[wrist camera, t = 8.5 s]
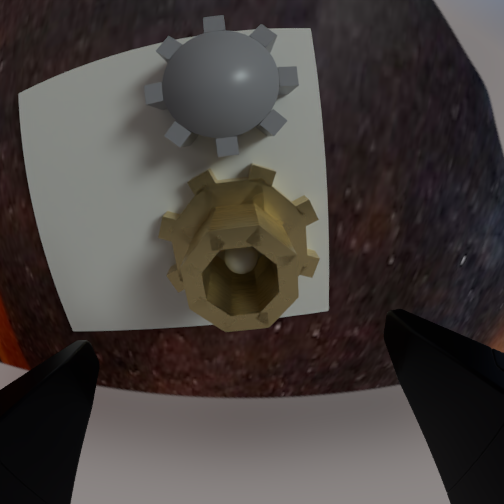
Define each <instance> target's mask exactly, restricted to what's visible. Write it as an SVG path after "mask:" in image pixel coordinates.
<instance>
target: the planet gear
mask: <svg viewBox="0 0 504 504" xmlns="http://www.w3.org/2000/svg"><path fill="white" fill-rule="evenodd" d="M275 175H276V171H275V170H274V169H270V168H267V167H264V166H260V165H257V164H253V163H252V164H251V167H250V170H249V174H248V177H240V178H231V179H223V180H217V179H216V177H215V175H214V174H213V172H212V170H211V168H209V169H207V170H206V171H204V172H202V173H200V174H199V175H197V176H195V177H194V178H192V179H190V180H189V181H188V182H187V183H188V185H189V187H190V188H191V190H192V192H193V193H194V195H195V196H194V197H193V198H192V200H191V201H190V202H189V204H188V205H187V206H186V208H185V209H184V210H183V212H182V213H181V214H177V213H173V212H170V211H167V212H166V213H165V214H164V215H163V216H162V221H161V226H160V231H159V236H158V238H160V239H164V240H168V241H171V242H172V245H173V250H174V255H175V260H176V264H175V265H173V266H171V267H170V269H169V271H168V273H167V275H166V276H167V277H168V279H169V280H170V282H171V283H172V285H173V286H174V287H175V289H176V290H177V292H178V293H179V292H181V291H183V290H184V289H185V292H186V297H187V301H188V305H189V309H190V310H192V311H193V312H195V313H196V314H198V315H199V316H201V317H203V318H204V319H206V320H207V321H209V322H210V323H212V324H214V325H215V326H217V327H218V328H220V329H222V330H223V331H225V332H231V331H241V330H250V329H260V328H268V327H270V326H271V325H272V324H273V323H274V322H275V321H276V320H277V319H278V318H279V317H280V316H281V315H282V314H283V313H284V312H285V311H286V310H287V309H288V308H289V307H290V306H291V305H292V304H293V303H294V302H295V301H296V299H297V298H298V297H299V290H298V276H299V275H302V276H306V277H310V278H312V277H313V275H314V272H315V270H316V267H317V265H318V262H319V260H320V258H319V256H318V255H317V253H316V252H315V251H314V250H311V249H307V238H306V226H308V225H310V224H311V223H313V222H315V221H317V220H319V219H318V217H317V215H316V213H315V211H314V209H313V206H312V204H311V202H310V200H309V199H308V198H307V197H306V196H305V195H304V196H302V197H300V198H298V199H296V200H294V201H291V200H290V199H288V198H287V197H286V196H285V195H283V194H282V193H281V192H280V191H279V190H277V189H276V188H275V187H274V186H272V184H273V181H274V178H275ZM251 246H253V247H254V248H255V249H257V250H258V251H259V252H261V253H262V256H261V257H260V258H259V259H258V260H257V264H256V266H255V267H254V268H253V269H252V270H251V271H250V272H248V273H245V274H237V273H234V272H233V271H231V270H230V269H229V268H228V267H227V265H226V263H225V261H223V260H222V259H221V258H219V257H218V256H217V255H216V254H217V253H218V252H219V251H220V250H224V249H233V248H242V247H251Z"/></svg>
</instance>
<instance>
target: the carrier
mask: <svg viewBox="0 0 504 504" xmlns="http://www.w3.org/2000/svg"><path fill="white" fill-rule="evenodd" d="M203 23H204V34H201V35H198V36H195V37H189V38H183V39H178V40H175V39H173V38H171V37H170V36H168V37H167V38H166V39H165V41H164V42H163V43H159V44H154V45H150V46H146V47H142V48H138V49H134V50H130V51H127V52H123V53H120V54H117V55H113V56H110V57H107V58H104V59H101V60H98V61H95V62H92V63H89V64H86V65H83V66H81V67H78V68H75V69H73V70H70V71H68V72H65V73H63V74H60V75H58V76H55V77H53V78H51V79H48V80H46V81H44V82H42V83H40V84H37V85H35V86H33V87H31V88H29V89H27V90H25V91H23V92H21V93H19V114H20V127H21V137H22V146H23V154H24V161H25V168H26V174H27V180H28V185H29V191H30V196H31V200H32V205H33V210H34V214H35V218H36V222H37V226H38V230H39V234H40V238H41V242H42V245H43V249H44V252H45V255H46V259H47V262H48V265H49V268H50V271H51V274H52V277H53V280H54V283H55V286H56V289H57V292H58V295H59V297H60V300H61V303H62V305H63V308H64V310H65V313H66V315H67V318H68V320H69V323H70V325H71V327H72V330H73V331H114V330H139V329H159V328H175V327H189V326H202V325H213V324H212V323H210V322H209V321H207V320H206V319H204V318H203V317H201V316H199V315H198V314H196V313H195V312H193V311H192V310H190V309H189V305H188V301H187V297H186V292H185V289H184V290H183V291H181V292H179V293H178V292H177V290H176V289H175V287H174V286H173V285H172V283H171V282H170V280H169V279H168V277H167V276H166V275H167V273H168V271H169V269H170V267H171V266H173V265H175V264H176V260H175V255H174V250H173V245H172V242H171V241H168V240H164V239H160V238H158V236H159V231H160V226H161V221H162V216H163V215H164V214H165V213H166V212H167V211H170V212H173V213H177V214H181V213H182V212H183V210H184V209H185V208H186V206H187V205H188V204H189V202H190V201H191V200H192V198H193V197H194V196H195V195H194V193H193V192H192V190H191V188H190V187H189V185H188V183H187V182H188V181H189V180H190V179H192V178H194V177H195V176H197V175H199V174H200V173H202V172H204V171H206V170H207V169H209V168H211V170H212V172H213V174H214V175H215V177H216V179H217V180H223V179H231V178H240V177H248V174H249V170H250V167H251V164H252V163H253V164H257V165H260V166H264V167H267V168H270V169H274V170H275V171H276V175H275V178H274V181H273V184H272V186H274V187H275V188H276V189H277V190H279V191H280V192H281V193H282V194H283V195H285V196H286V197H287V198H288V199H290V200H291V201H294V200H296V199H298V198H300V197H302V196H304V195H305V196H306V197H307V198H308V199H309V200H310V202H311V204H312V206H313V209H314V211H315V213H316V215H317V217H318V219H319V220H317V221H315V222H313V223H311V224H310V225H308V226H306V238H307V249H311V250H314V251H315V252H316V253H317V255H318V256H319V258H320V260H319V262H318V265H317V267H316V270H315V272H314V275H313V277H312V278H310V277H306V276H302V275H299V276H298V290H299V297H298V298H297V299H296V301H295V302H294V303H293V304H292V305H291V306H290V307H289V308H288V309H287V310H286V311H285V312H284V313H283V314H282V315H281V316H280V317H287V316H295V315H303V314H310V313H317V312H324V311H328V309H329V233H328V202H327V181H326V164H325V149H324V137H323V125H322V114H321V104H320V95H319V86H318V78H317V70H316V62H315V55H314V48H313V41H312V34H311V28H281V29H268V28H266V27H265V26H264V25H262V24H261V25H260V26H259V27H258V28H257V29H255V30H244V31H225V23H224V15H220V16H212V17H205V18H203ZM216 255H217V256H218V257H219V258H221V259H222V260H223V261H225V263H226V265H227V267H228V268H229V269H230V270H231V271H233V272H234V273H237V274H245V273H248V272H250V271H251V270H252V269H253V268H254V267H255V266H256V264H257V260H258V259H259V258H260V257H261V256H262V253H261V252H259V251H258V250H257V249H255V248H254V247H253V246H251V247H242V248H233V249H224V250H220V251H219V252H218V253H217V254H216ZM280 317H279V318H280Z"/></svg>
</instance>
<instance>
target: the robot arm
mask: <svg viewBox="0 0 504 504" xmlns="http://www.w3.org/2000/svg"><path fill="white" fill-rule="evenodd" d="M384 341H385V344H386V346H387V349H388V352H389V355H390V357H391V360H392V363H393V366H394V369H395V372H396V375H397V377H398V380H399V382H400V385H401V387H402V389H403V391H404V393H405V395H406V397H407V399H408V402H409V404H410V406H411V408H412V410H413V412H414V415H415V417H416V419H417V421H418V423H419V426H420V428H421V430H422V433H423V435H424V437H425V439H426V442H427V444H428V446H429V449H430V451H431V454H432V456H433V458H434V461H435V463H436V466H437V468H438V471H439V473H440V476H441V479H442V481H443V484H444V486H445V489H446V492H447V495H448V498H449V500H450V503H451V504H504V353H502V352H500V351H498V350H495V349H491V347H488V346H486V345H484V344H481V343H479V342H477V341H475V340H472V339H470V338H468V337H465V336H463V335H461V334H458V333H456V332H454V331H451V330H449V329H447V328H444V327H442V326H440V325H437V324H435V323H433V322H430V321H428V320H426V319H423V318H421V317H419V316H416V315H414V314H412V313H409V312H407V311H405V310H402V309H396V310H391V311H389V312H388V313H387V316H386V322H385V329H384ZM98 373H99V361H98V358H97V356H96V354H95V352H94V350H93V347H92V345H91V343H90V342H89V341H87V340H78V341H76V342H74V343H72V344H71V345H69V346H68V347H66V348H65V349H63V350H61V351H60V352H58V353H57V354H55V355H54V356H52V357H50V358H49V359H47V360H46V361H44V362H43V363H41V364H39V365H38V366H36V367H35V368H33V369H32V370H30V371H29V372H27V373H25V374H24V375H23V376H21V377H19V378H18V379H16V380H15V381H13V382H12V383H10V384H9V385H7V386H5V387H4V388H3V389H1V390H0V504H70V503H71V498H72V492H73V487H74V481H75V476H76V471H77V467H78V462H79V457H80V453H81V449H82V445H83V441H84V437H85V432H86V429H87V425H88V421H89V417H90V414H91V409H92V405H93V400H94V394H95V389H96V383H97V378H98Z"/></svg>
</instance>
